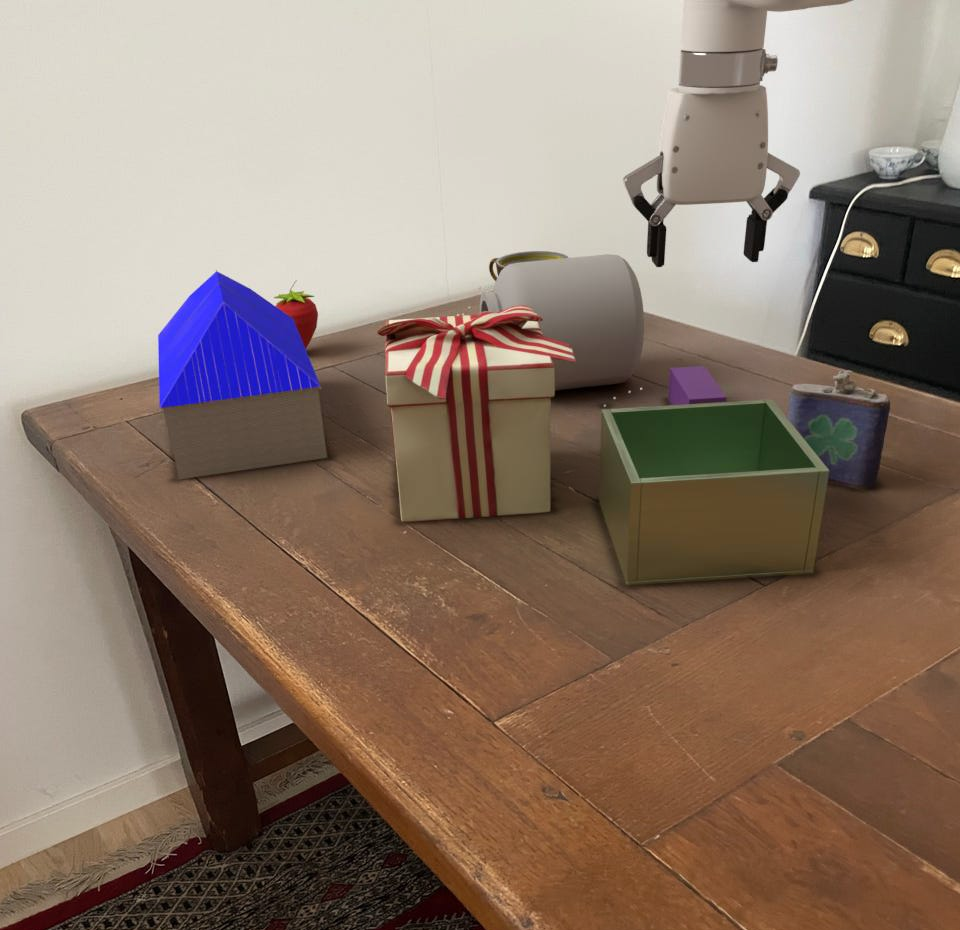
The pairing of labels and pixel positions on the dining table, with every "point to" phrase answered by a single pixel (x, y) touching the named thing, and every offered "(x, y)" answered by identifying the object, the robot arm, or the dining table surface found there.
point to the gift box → (471, 413)
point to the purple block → (693, 386)
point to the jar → (579, 313)
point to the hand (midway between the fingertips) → (704, 261)
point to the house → (236, 384)
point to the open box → (709, 492)
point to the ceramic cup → (522, 259)
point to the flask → (842, 428)
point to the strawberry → (300, 313)
